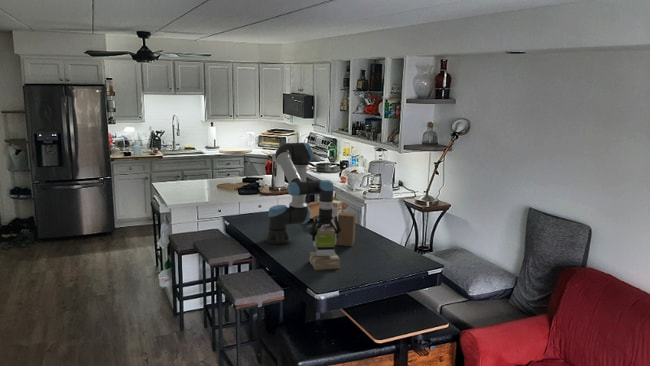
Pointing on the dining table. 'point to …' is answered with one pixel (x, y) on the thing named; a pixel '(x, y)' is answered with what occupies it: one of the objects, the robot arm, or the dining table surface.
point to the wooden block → (346, 228)
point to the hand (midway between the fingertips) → (324, 245)
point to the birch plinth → (324, 261)
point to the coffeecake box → (336, 210)
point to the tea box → (325, 240)
